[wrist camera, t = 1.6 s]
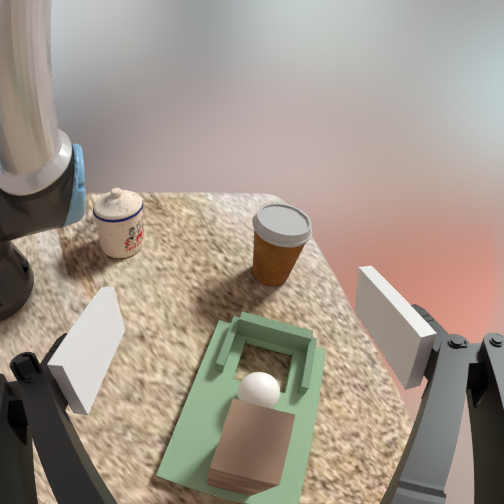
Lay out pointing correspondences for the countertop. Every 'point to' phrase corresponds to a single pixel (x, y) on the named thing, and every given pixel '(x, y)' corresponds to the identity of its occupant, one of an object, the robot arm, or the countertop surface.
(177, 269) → the countertop surface
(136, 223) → the teacup with lid
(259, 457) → the walnut block
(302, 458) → the pad
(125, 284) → the countertop surface
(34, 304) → the countertop surface
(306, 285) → the countertop surface
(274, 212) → the disposable coffee cup
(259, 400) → the ball
